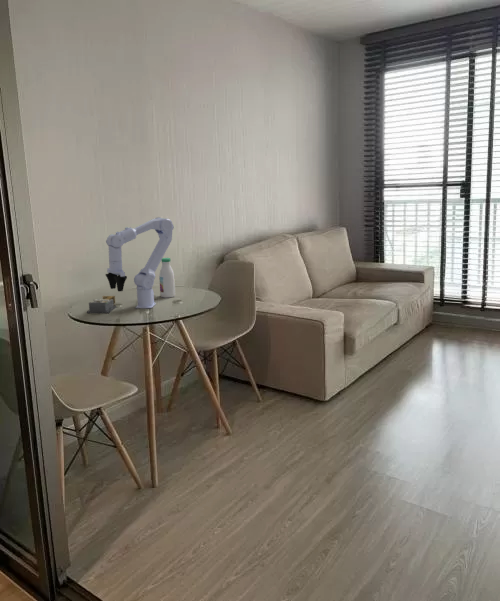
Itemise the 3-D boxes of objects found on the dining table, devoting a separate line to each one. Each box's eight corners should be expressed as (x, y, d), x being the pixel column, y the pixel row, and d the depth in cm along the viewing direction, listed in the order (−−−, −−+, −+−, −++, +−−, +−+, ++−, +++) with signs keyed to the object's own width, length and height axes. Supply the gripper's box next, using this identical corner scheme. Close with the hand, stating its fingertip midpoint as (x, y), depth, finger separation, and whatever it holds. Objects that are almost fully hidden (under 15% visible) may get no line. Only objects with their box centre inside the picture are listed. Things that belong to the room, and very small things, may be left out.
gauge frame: (95, 307, 262) (95, 297, 260) (116, 307, 261) (115, 297, 260) (87, 313, 250) (86, 302, 249) (108, 313, 250) (107, 302, 248)
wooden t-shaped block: (103, 303, 266) (103, 295, 266) (115, 303, 266) (114, 295, 265) (96, 308, 257) (96, 300, 256) (109, 308, 257) (108, 300, 256)
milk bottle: (176, 294, 285) (175, 257, 281) (173, 298, 278) (171, 259, 273) (162, 294, 286) (160, 257, 281) (158, 297, 279) (156, 259, 274)
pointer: (95, 306, 257) (94, 299, 256) (110, 306, 256) (109, 299, 255) (93, 307, 255) (93, 300, 254) (108, 307, 254) (108, 300, 253)
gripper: (100, 259, 251) (102, 288, 254) (114, 263, 240) (115, 293, 243) (114, 258, 255) (116, 286, 258) (128, 262, 244) (129, 291, 247)
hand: (116, 289), depth 251 cm, fingers open, 7 cm apart
